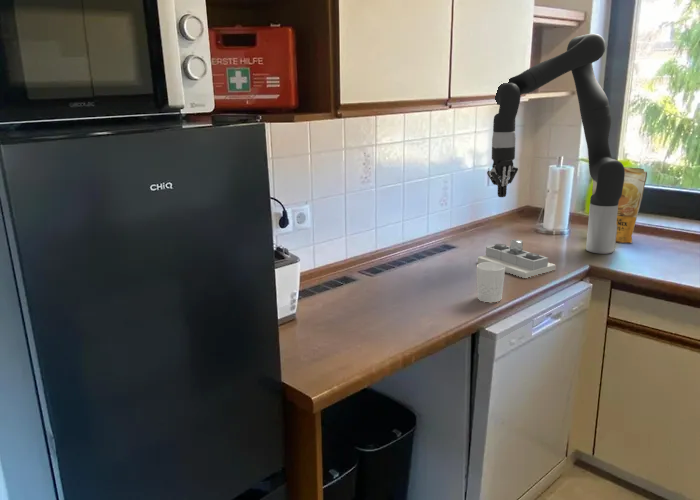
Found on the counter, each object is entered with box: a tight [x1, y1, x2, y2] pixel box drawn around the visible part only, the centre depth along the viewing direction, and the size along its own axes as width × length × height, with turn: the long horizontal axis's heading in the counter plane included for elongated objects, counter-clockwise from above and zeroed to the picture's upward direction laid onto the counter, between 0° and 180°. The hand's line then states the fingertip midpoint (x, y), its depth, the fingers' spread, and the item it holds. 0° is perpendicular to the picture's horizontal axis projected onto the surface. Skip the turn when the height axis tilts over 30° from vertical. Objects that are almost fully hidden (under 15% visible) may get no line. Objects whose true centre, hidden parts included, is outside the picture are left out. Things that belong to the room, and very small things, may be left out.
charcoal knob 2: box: [526, 252, 540, 260], centre depth 186 cm, size 4×4×4 cm
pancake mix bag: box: [591, 166, 648, 244], centre depth 219 cm, size 7×19×28 cm, turn 44°
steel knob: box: [509, 238, 524, 253], centre depth 191 cm, size 4×4×4 cm
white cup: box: [476, 262, 506, 303], centre depth 164 cm, size 8×8×10 cm
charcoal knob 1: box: [494, 243, 508, 251], centre depth 198 cm, size 4×4×4 cm
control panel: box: [477, 244, 556, 279], centre depth 192 cm, size 14×21×5 cm, turn 32°
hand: (501, 196), depth 196 cm, fingers closed
